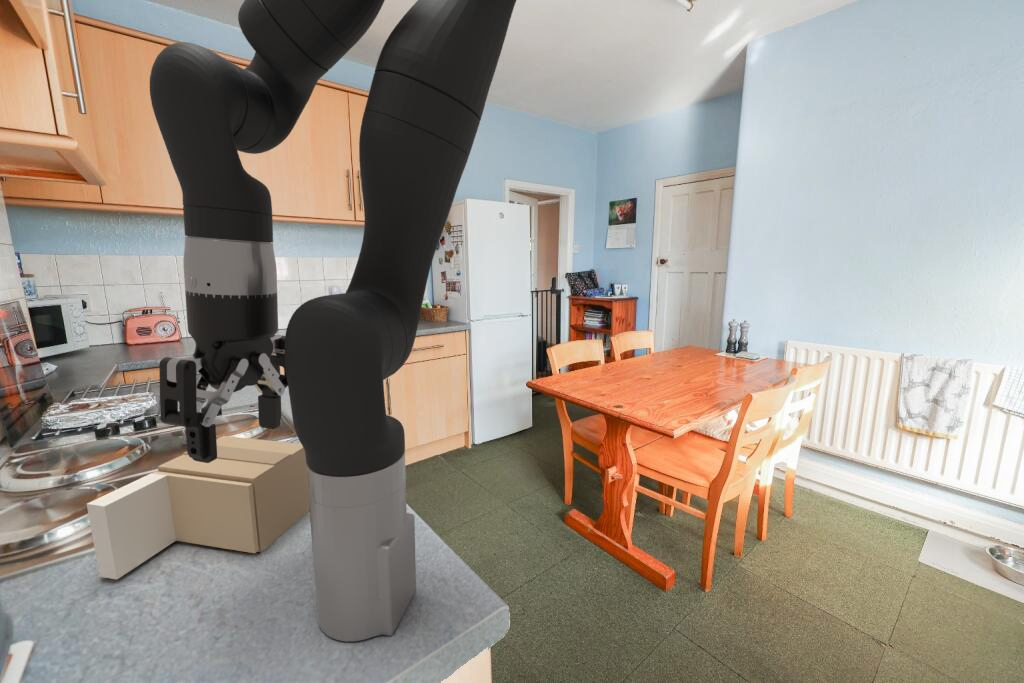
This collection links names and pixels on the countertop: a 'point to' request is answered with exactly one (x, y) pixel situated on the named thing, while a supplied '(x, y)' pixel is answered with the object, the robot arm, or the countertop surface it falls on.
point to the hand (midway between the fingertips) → (240, 442)
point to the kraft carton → (258, 479)
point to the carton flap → (170, 519)
